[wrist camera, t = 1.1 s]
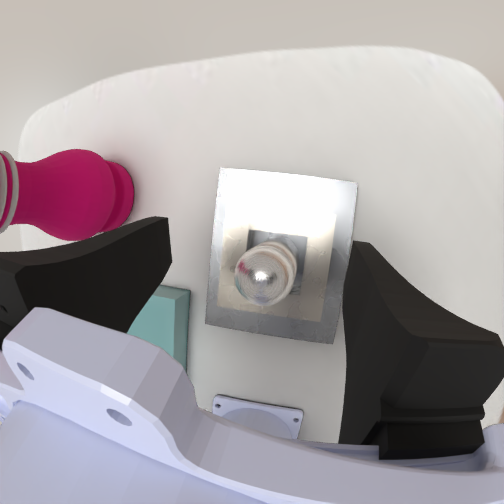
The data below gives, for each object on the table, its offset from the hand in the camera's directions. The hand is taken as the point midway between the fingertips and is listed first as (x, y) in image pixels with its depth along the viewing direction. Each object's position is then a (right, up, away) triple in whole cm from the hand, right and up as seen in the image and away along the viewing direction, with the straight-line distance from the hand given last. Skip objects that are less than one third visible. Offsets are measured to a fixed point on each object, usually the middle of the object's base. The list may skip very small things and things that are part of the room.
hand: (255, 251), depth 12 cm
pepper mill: (-13, +5, +14) cm, 20 cm away
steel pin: (+2, 0, +11) cm, 11 cm away
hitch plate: (+2, 0, +12) cm, 12 cm away
